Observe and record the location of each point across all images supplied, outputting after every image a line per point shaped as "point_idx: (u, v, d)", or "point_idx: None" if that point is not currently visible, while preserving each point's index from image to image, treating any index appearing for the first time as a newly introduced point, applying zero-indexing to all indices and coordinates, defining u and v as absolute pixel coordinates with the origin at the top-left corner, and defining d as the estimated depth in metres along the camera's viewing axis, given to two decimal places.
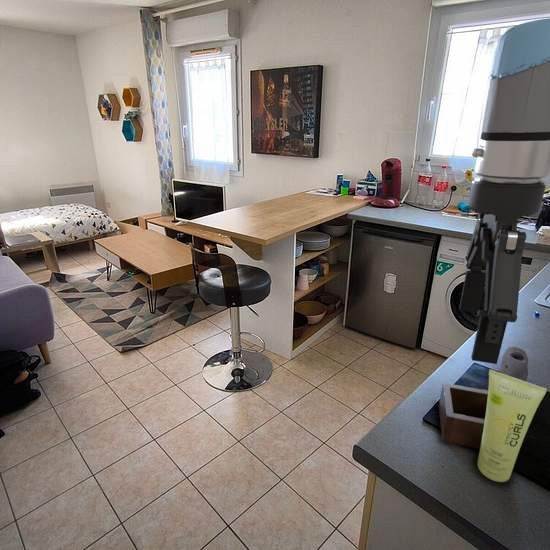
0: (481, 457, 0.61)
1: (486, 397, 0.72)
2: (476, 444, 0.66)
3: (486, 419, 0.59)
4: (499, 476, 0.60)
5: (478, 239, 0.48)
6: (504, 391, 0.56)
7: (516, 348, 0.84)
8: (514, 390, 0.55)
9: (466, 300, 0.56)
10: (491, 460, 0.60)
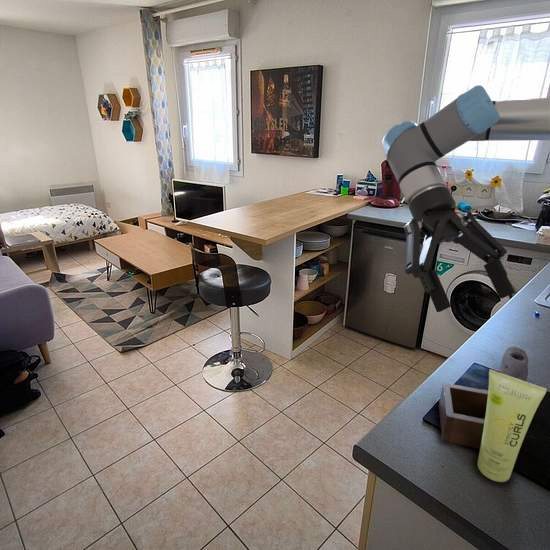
0: (481, 457, 0.61)
1: (486, 397, 0.72)
2: (476, 444, 0.66)
3: (486, 419, 0.59)
4: (499, 476, 0.60)
5: None
6: (504, 391, 0.56)
7: (516, 348, 0.84)
8: (514, 390, 0.55)
9: (497, 287, 0.64)
10: (491, 460, 0.60)
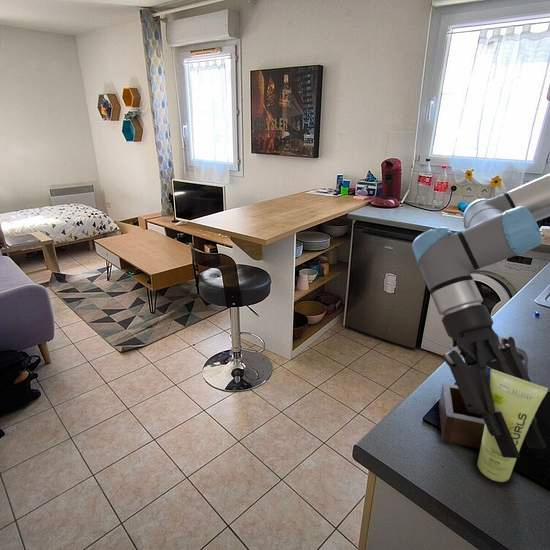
0: (482, 457, 0.61)
1: None
2: (476, 444, 0.66)
3: None
4: (499, 476, 0.60)
5: None
6: (505, 390, 0.56)
7: (516, 348, 0.84)
8: (515, 389, 0.55)
9: (526, 435, 0.58)
10: (491, 460, 0.60)
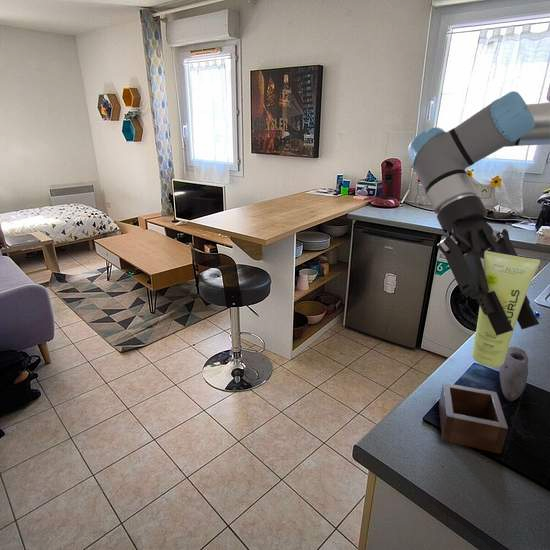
0: (476, 345, 0.63)
1: (486, 397, 0.72)
2: (476, 444, 0.66)
3: None
4: (493, 360, 0.61)
5: None
6: (499, 269, 0.57)
7: (516, 348, 0.84)
8: (508, 267, 0.57)
9: (519, 317, 0.59)
10: (485, 345, 0.61)
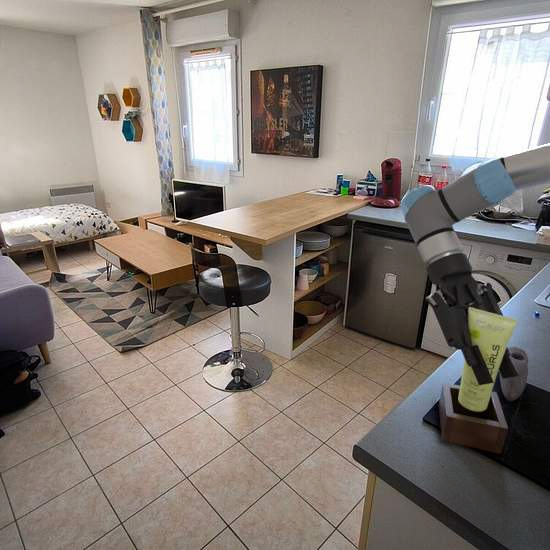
0: (461, 390, 0.68)
1: None
2: (476, 444, 0.66)
3: None
4: (476, 406, 0.66)
5: None
6: (481, 325, 0.63)
7: (516, 348, 0.84)
8: (490, 323, 0.62)
9: (500, 367, 0.64)
10: (470, 391, 0.66)
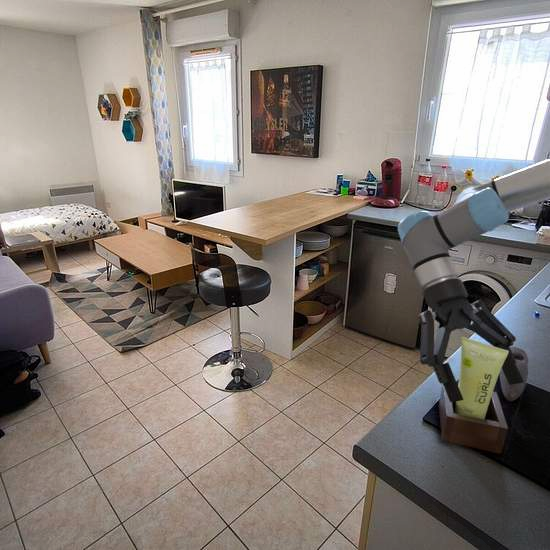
0: None
1: None
2: (476, 444, 0.66)
3: (459, 381, 0.68)
4: None
5: None
6: (473, 355, 0.65)
7: (516, 348, 0.84)
8: (482, 353, 0.64)
9: (507, 374, 0.68)
10: None
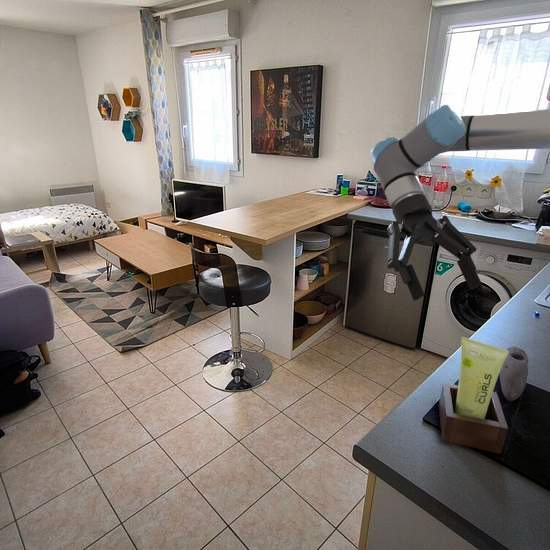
0: None
1: None
2: (476, 444, 0.66)
3: (459, 381, 0.68)
4: None
5: None
6: (473, 355, 0.65)
7: (516, 348, 0.84)
8: (482, 353, 0.64)
9: (468, 280, 0.74)
10: None
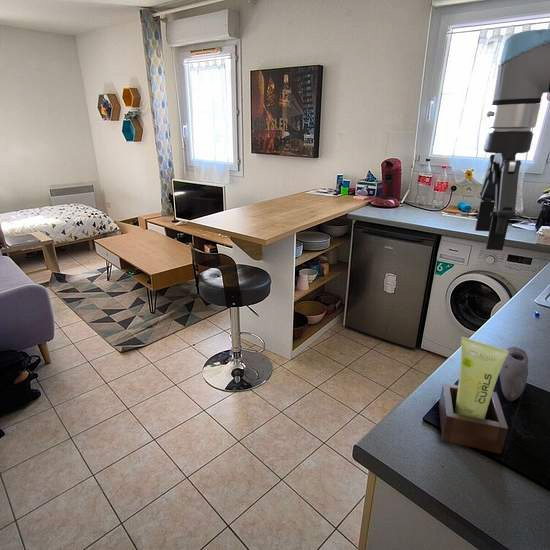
0: None
1: None
2: (476, 444, 0.66)
3: (459, 381, 0.68)
4: None
5: (490, 174, 0.73)
6: (473, 355, 0.65)
7: (516, 348, 0.84)
8: (482, 353, 0.64)
9: (480, 222, 0.81)
10: None
